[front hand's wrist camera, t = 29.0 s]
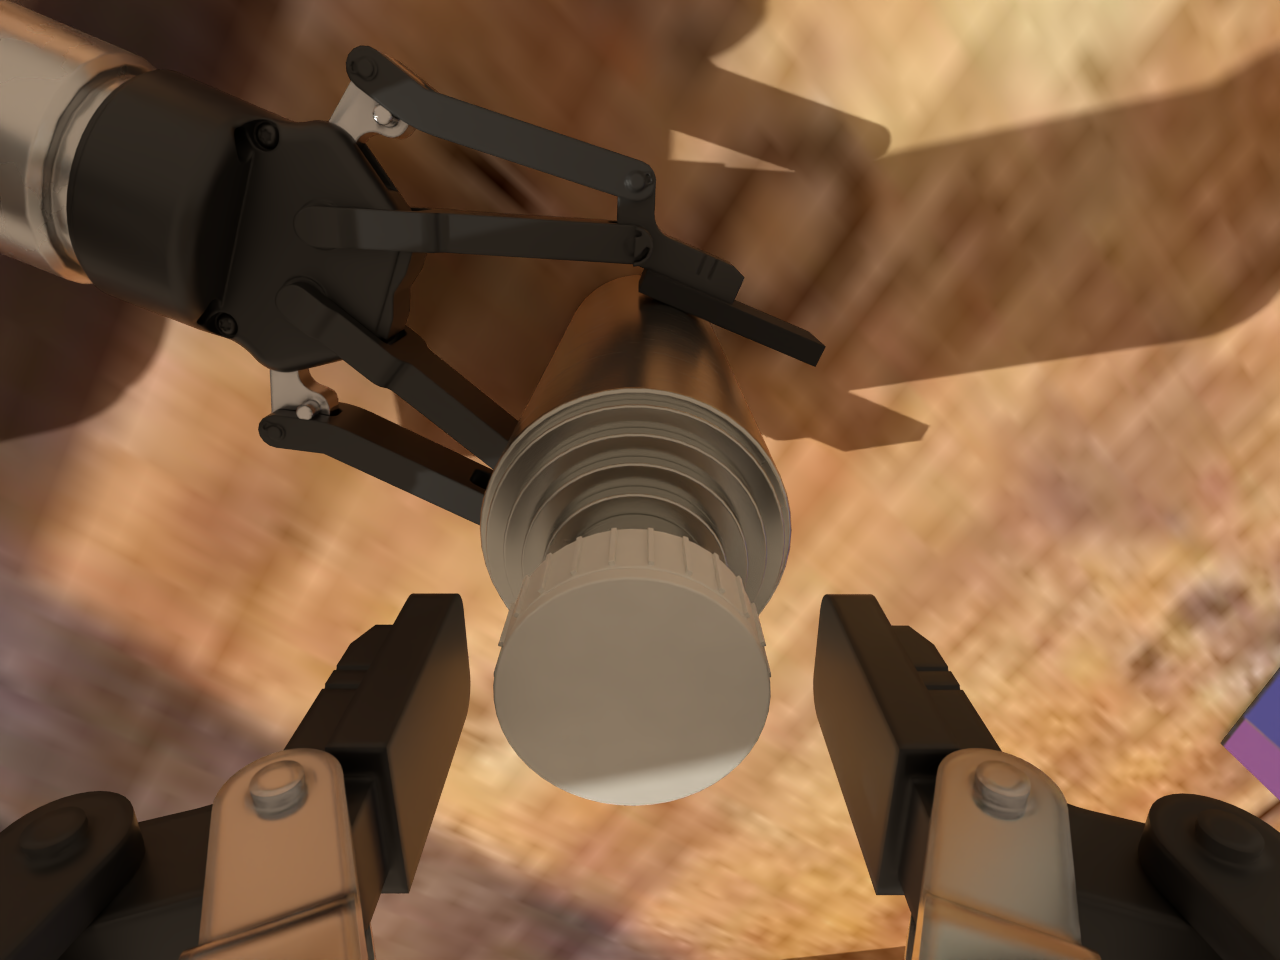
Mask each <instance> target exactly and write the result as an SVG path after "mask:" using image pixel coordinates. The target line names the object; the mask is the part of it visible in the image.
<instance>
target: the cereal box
mask: <svg viewBox="0 0 1280 960" xmlns="http://www.w3.org/2000/svg"><path fill="white" fill-rule="evenodd" d="M1221 744H1222V745H1223V746H1224V747H1225V748H1226V749H1227V750H1228V751H1229V752H1230V753H1231V754H1232V755H1233V756H1234V757H1235V758H1236V759H1237V760H1238V761H1239V762H1240V763H1241V764H1243V765H1244V766H1245V767H1246V768H1247V769H1248V770H1249V771H1250V772H1251V773H1252V774H1253V775H1254V776H1255V777H1256V778H1257V779H1258V780H1259V781H1260V782H1261V783H1262V784H1263V785H1264V786H1265V787H1266V788H1267V789H1268V790H1269V791H1271V792H1272V793H1273V794H1274V795H1275V796H1276V797H1277V798H1278V799H1279V800H1280V668H1279V670H1278V671H1277V672H1276V673H1275V675H1274V676H1273V677H1272V678H1271V680H1270V681H1269V682H1268V683H1267V685H1266V686H1265V687H1264V689H1263V690H1262V691H1261V692H1260V694H1259V695H1258V696H1257V697H1256V699H1255V700H1254V701H1253V702H1252V704H1251V705H1250V706H1249V708H1248V709H1247V710H1246V711H1245V713H1244V714H1243V715H1242V716H1241V718H1240V719H1239V720H1238V721H1237V723H1236V724H1235V725H1234V727H1233V728H1232V729H1231V730H1230V732H1229V733H1228V734H1227V735H1226V737H1225V738H1224V739H1223V740H1222V742H1221Z"/></svg>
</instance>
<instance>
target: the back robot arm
mask: <svg viewBox="0 0 1280 960" xmlns="http://www.w3.org/2000/svg"><path fill="white" fill-rule="evenodd" d="M346 70H347V74H348V76H349V78H350V80H351V82H350V84H349V86H348V87H347V89H346V91H345V93H344V95H343V96H342V98H341V100H340V102H339V104H338V106H337V107H336V109H335V111H334V113H333V115H332V116H331V118H330V120H329V122H328V121H321V120H316V121H309V122H294V121H291V120H288V119H286V118H283V117H281V116H279V115H276V114H274V113H272V112H269V111H267V110H265V109H262V108H260V107H258V106H255V105H253V104H251V103H248V102H246V101H244V100H241V99H239V98H237V97H234V96H232V95H230V94H227V93H225V92H223V91H220V90H218V89H215V88H213V87H211V86H208V85H206V84H204V83H201V82H199V81H197V80H194V79H192V78H190V77H187V76H185V75H183V74H180V73H178V72H175V71H172V70H164V69H162V70H157V69H156V68H155V67H154V66H152V65H151V64H150V63H149V62H148V61H147V60H145V59H144V58H143V57H141V56H138V55H136V54H134V53H131V52H129V51H127V50H124V49H122V48H120V47H117V46H115V45H112V44H110V43H108V42H105V41H103V40H101V39H98V38H96V37H94V36H91V35H89V34H86V33H84V32H82V31H79V30H77V29H75V28H72V27H70V26H68V25H65V24H63V23H60V22H58V21H56V20H53V19H51V18H49V17H46V16H44V15H42V14H39V13H37V12H34V11H32V10H30V9H27V8H25V7H23V6H20V5H18V4H16V3H13V2H11V1H8V0H0V253H1V254H4V255H6V256H9V257H11V258H14V259H16V260H19V261H21V262H24V263H26V264H29V265H31V266H34V267H36V268H39V269H41V270H44V271H47V272H49V273H52V274H54V275H57V276H59V277H62V278H64V279H67V280H70V281H73V282H77V283H80V284H94V285H95V286H96V287H97V288H99V289H100V290H101V291H103V292H104V293H106V294H108V295H110V296H113V297H116V298H118V299H121V300H123V301H126V302H129V303H131V304H134V305H137V306H139V307H142V308H144V309H147V310H150V311H152V312H155V313H158V314H160V315H163V316H165V317H168V318H171V319H173V320H176V321H178V322H181V323H184V324H186V325H189V326H192V327H194V328H197V329H200V330H202V331H206V332H209V333H212V334H215V335H218V336H222V337H225V338H228V339H231V340H233V341H235V342H236V343H238V344H239V345H241V346H242V347H244V348H245V349H246V350H247V351H248V352H249V353H251V354H252V355H253V357H254V358H255V359H256V360H257V361H258V362H260V363H261V364H262V365H263V366H265V367H267V368H269V369H270V383H271V405H272V412H271V414H269V415H268V416H266V417H265V418H263V419H262V420H261V422H260V423H259V428H258V430H259V434H260V437H261V438H262V439H263V441H264V442H265V443H267V444H268V445H270V446H273V447H276V448H284V449H292V450H299V451H307V452H315V453H323V454H326V455H328V456H330V457H332V458H334V459H337V460H339V461H341V462H343V463H345V464H348V465H350V466H352V467H354V468H356V469H358V470H361V471H363V472H365V473H367V474H369V475H371V476H374V477H376V478H378V479H380V480H382V481H385V482H387V483H389V484H391V485H393V486H395V487H398V488H400V489H402V490H404V491H406V492H408V493H411V494H413V495H415V496H417V497H419V498H421V499H424V500H426V501H428V502H430V503H432V504H435V505H437V506H439V507H441V508H443V509H445V510H448V511H450V512H452V513H454V514H456V515H458V516H461V517H463V518H465V519H467V520H469V521H472V522H474V523H476V524H478V525H480V519H481V508H482V503H483V498H484V494H485V490H486V487H487V485H488V482H489V479H490V477H491V474H492V472H493V470H494V468H495V466H496V464H497V462H498V460H499V458H500V456H501V454H502V453H503V451H504V449H505V447H506V445H507V443H508V441H509V439H510V437H511V435H512V433H513V431H514V429H515V428H516V426H517V424H518V422H519V421H517V420H516V419H515V418H514V417H512V416H511V415H510V414H509V413H507V412H506V411H505V410H504V409H502V408H501V407H500V406H499V405H497V404H496V403H495V402H494V401H493V400H491V399H490V398H489V397H488V396H486V395H485V394H484V393H483V392H481V391H480V390H479V389H478V388H476V387H475V386H474V385H473V384H471V383H470V382H469V381H468V380H466V379H465V378H464V377H463V376H462V375H460V374H459V373H458V372H457V371H455V370H454V369H453V368H452V367H450V366H449V365H448V364H447V363H445V362H444V361H443V360H442V359H440V358H439V357H438V356H437V355H435V354H434V353H433V352H432V351H431V350H430V349H429V348H428V347H427V345H426V343H425V341H424V340H423V339H422V338H421V337H420V336H419V335H418V334H416V333H415V332H414V331H413V330H411V329H410V328H409V327H408V326H406V325H405V324H406V321H407V318H408V314H409V311H410V288H411V285H412V283H413V282H414V280H415V279H416V277H417V275H418V274H419V272H420V271H421V269H422V267H423V264H424V261H425V257H426V254H427V253H461V254H478V255H494V256H510V257H526V258H542V259H558V260H574V261H590V262H606V263H622V264H633V267H634V266H640V267H642V268H644V270H643V272H642V275H641V277H640V280H639V283H638V292H639V293H642V294H644V295H646V296H649V297H651V298H654V299H656V300H658V301H661V302H663V303H665V304H668V305H670V306H672V307H675V308H677V309H680V310H682V311H684V312H687V313H689V314H691V315H694V316H696V317H698V318H701V319H703V320H706V321H708V322H710V323H713V324H715V325H717V326H720V327H722V328H725V329H727V330H729V331H732V332H734V333H736V334H739V335H741V336H743V337H746V338H748V339H751V340H753V341H755V342H758V343H760V344H762V345H765V346H767V347H770V348H772V349H774V350H777V351H779V352H781V353H784V354H786V355H788V356H791V357H793V358H796V359H798V360H800V361H803V362H805V363H807V364H810V365H812V366H814V367H816V365H817V363H818V361H819V359H820V357H821V355H822V353H823V351H824V349H825V347H826V346H824V345H823V344H822V343H821V342H820V341H819V340H818V339H816V338H815V337H814V336H813V335H812V334H811V333H810V332H808V331H806V330H803V329H801V328H799V327H796V326H794V325H792V324H790V323H787V322H785V321H783V320H780V319H778V318H776V317H773V316H771V315H769V314H766V313H764V312H762V311H759V310H757V309H755V308H752V307H750V306H748V305H745V304H743V303H741V302H738V301H736V300H735V298H736V295H737V293H738V291H739V289H740V286H741V284H742V282H743V280H744V277H743V276H742V275H741V274H740V272H739V271H738V270H737V269H736V268H735V267H734V266H733V265H732V264H731V263H729V262H728V261H725V260H723V259H721V258H719V257H716V256H714V255H712V254H709V253H707V252H705V251H702V250H700V249H698V248H696V247H693V246H691V245H689V244H687V243H684V242H682V241H680V240H677V239H675V238H673V237H671V236H668V235H666V234H665V233H663V232H662V231H661V230H660V229H659V228H658V226H657V224H656V222H655V215H654V210H655V188H656V177H655V174H654V171H653V170H652V168H651V167H650V166H649V165H648V164H646V163H644V162H642V161H639V160H636V159H634V158H631V157H628V156H625V155H622V154H619V153H616V152H613V151H610V150H607V149H604V148H601V147H598V146H595V145H592V144H589V143H586V142H583V141H580V140H577V139H574V138H571V137H568V136H565V135H562V134H559V133H556V132H553V131H550V130H547V129H544V128H541V127H538V126H535V125H532V124H529V123H526V122H523V121H520V120H517V119H514V118H512V117H509V116H506V115H503V114H500V113H497V112H494V111H491V110H488V109H485V108H482V107H479V106H476V105H473V104H470V103H467V102H464V101H461V100H458V99H455V98H452V97H449V96H446V95H443V94H440V93H439V92H437V91H436V90H435V89H434V88H432V87H431V86H430V85H428V84H427V83H426V82H425V81H423V80H422V79H421V78H420V77H418V76H417V75H416V74H415V73H413V72H412V71H411V70H409V69H408V68H407V67H406V66H404V65H403V64H402V63H401V62H399V61H397V60H395V59H393V58H391V57H389V56H388V55H386V54H384V53H382V52H380V51H377V50H375V49H373V48H371V47H369V46H359V47H356V48H354V49H353V50H352V51H351V52H350V53H349V54H348V57H347V61H346ZM415 129H418V130H420V131H423V132H425V133H428V134H430V135H433V136H436V137H439V138H442V139H445V140H448V141H451V142H454V143H457V144H460V145H463V146H466V147H469V148H472V149H475V150H478V151H481V152H484V153H487V154H490V155H493V156H496V157H500V158H503V159H506V160H509V161H512V162H515V163H518V164H521V165H524V166H527V167H530V168H533V169H536V170H539V171H542V172H545V173H548V174H551V175H554V176H557V177H560V178H563V179H566V180H569V181H572V182H575V183H578V184H581V185H584V186H588V187H591V188H594V189H597V190H600V191H603V192H606V193H609V194H612V195H615V196H618V205H617V221H615V220H600V219H584V218H568V217H553V216H537V215H521V214H505V213H490V212H474V211H459V210H452V209H437V208H422V207H409V206H408V204H407V203H406V201H405V200H404V199H403V197H402V196H401V194H400V193H399V191H398V190H397V188H396V187H395V185H394V184H393V182H392V181H391V180H390V178H389V177H388V175H387V174H386V172H385V171H384V169H383V168H382V166H381V165H380V164H379V162H378V161H377V159H376V158H375V156H374V155H373V153H372V152H371V150H370V149H369V147H368V146H367V145H366V142H367V141H368V140H369V138H370V137H372V136H374V135H377V134H381V135H384V136H386V137H390V138H395V139H404V138H407V137H409V136H410V135H411V134H412V133H413V132H414V131H415ZM340 360H344V361H345V362H346V363H348V364H349V365H350V366H352V367H353V368H354V369H355V370H357V371H358V372H359V373H361V374H362V375H363V376H365V377H366V378H367V379H368V380H370V381H371V382H373V383H374V384H376V385H378V386H380V387H384V388H388V389H390V390H392V391H393V392H394V393H396V394H397V395H398V396H400V397H401V398H402V399H403V400H405V401H406V402H407V403H409V404H410V405H411V406H412V407H414V408H415V409H416V410H418V411H419V412H420V413H421V414H423V415H424V416H425V417H427V418H428V419H429V420H430V421H432V422H433V423H434V424H436V425H437V426H438V427H439V428H441V429H442V430H443V431H445V432H446V433H447V434H448V435H450V436H451V437H452V438H454V439H455V440H456V441H457V442H459V443H460V444H461V445H463V446H464V447H465V448H466V449H468V450H469V451H470V452H472V453H473V454H474V455H475V456H477V457H478V458H479V459H481V460H482V461H483V462H484V463H486V464H487V465H488V466H490V467H491V468H492V469H493V470H492V469H490V468H488V467H486V466H483V465H481V464H479V463H477V462H475V461H473V460H471V459H469V458H467V457H465V456H462V455H460V454H458V453H456V452H454V451H452V450H450V449H448V448H446V447H443V446H441V445H439V444H437V443H435V442H433V441H431V440H429V439H427V438H425V437H422V436H420V435H418V434H416V433H414V432H412V431H410V430H408V429H406V428H403V427H401V426H399V425H397V424H395V423H393V422H391V421H389V420H387V419H385V418H382V417H380V416H378V415H376V414H374V413H372V412H370V411H367V410H365V409H362V408H360V407H357V406H353V405H350V404H347V403H341V402H338V398H337V393H336V392H335V391H334V390H332V389H330V388H329V387H326V386H324V385H321V384H319V383H318V382H316V381H315V380H314V379H313V378H312V376H311V374H310V372H309V368H312V367H316V366H320V365H324V364H328V363H332V362H336V361H340Z"/></svg>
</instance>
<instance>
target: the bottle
mask: <svg viewBox="0 0 1280 960" xmlns="http://www.w3.org/2000/svg"><path fill="white" fill-rule="evenodd" d="M640 277H641V275H630V276H624V277H620V278H617V279H614V280H611V281H609V282H607V283H605V284H603V285H602V286H600V287H598V288H597V289H596V290H594V291H593V292H592V293H590V294H589V295H588V296H587V298H586V299H585V300H584V301H583V302H582V303H581V305H580V306H579V307H578V309H577V310H576V312H575V314H574V316H573V318H572V320H571V322H570V323H569V325H568V327H567V329H566V331H565V333H564V335H563V337H562V339H561V341H560V343H559V345H558V347H557V349H556V350H555V352H554V354H553V356H552V358H551V360H550V362H549V364H548V366H547V368H546V370H545V372H544V374H543V375H542V377H541V379H540V381H539V383H538V385H537V387H536V389H535V391H534V393H533V395H532V397H531V399H530V401H529V402H528V404H527V406H526V408H525V410H524V412H523V414H522V416H521V418H520V420H519V422H518V424H517V426H516V428H515V429H514V431H513V433H512V435H511V437H510V439H509V441H508V443H507V445H506V447H505V449H504V451H503V453H502V454H501V456H500V458H499V460H498V462H497V464H496V466H495V468H494V470H493V472H492V474H491V477H490V479H489V482H488V485H487V487H486V490H485V494H484V498H483V503H482V508H481V519H480V535H481V547H482V551H483V556H484V560H485V564H486V567H487V570H488V572H489V575H490V577H491V580H492V582H493V584H494V586H495V588H496V590H497V591H498V593H499V595H500V597H501V599H502V600H503V601H504V603H505V605H506V606H507V608H508V609H510V606H511V603H516V600H517V598H518V596H519V594H520V591H521V588H522V584H523V581H524V578H525V577H526V576H529V577H530V576H531V574H532V573H533V572H534V571H535V570H536V569H537V568H538V567H539V565H540V564H541V563H543V562H544V561H545V560H546V556H547V555H548V554H549V553H550V552H551V553H552V554H554V553H555V552H557V551H558V550H560V549H561V548H563V547H564V546H566V545H568V544H570V543H572V542H575V541H576V538H577V537H580V536H582V538H584V537H587V536H590V535H593V534H596V533H601V532H606V531H611V528H617V530H620V529H647V530H648V528H653V529H654V531H660V532H665V533H668V534H672V535H675V536H679V537H681V538H683V536H685V537H688V539H689V541H691V542H693V543H695V544H697V545H699V546H700V547H702V548H704V549H706V550H707V551H709V552H710V553H712V554H714V553H716V554H718V555H719V560H721V561H722V562H723V563H724V564H725V565H726V566H727V567H728V568H729V569H730V570H731V571H732V572H733V574H734V575H735V576H736V577H737V576H740V577H741V579H742V583H743V587H744V590H745V592H746V594H747V596H748V598H749V601H750V603H751V604H752V603H755V606H756V609H757V613H758V616H759V614H760V613H761V612H762V610H763V609H764V608H765V606H766V604H767V603H768V602H769V600H770V599H771V597H772V595H773V593H774V592H775V590H776V588H777V586H778V584H779V582H780V580H781V577H782V575H783V572H784V570H785V567H786V563H787V559H788V555H789V550H790V542H791V531H792V529H791V512H790V507H789V502H788V497H787V493H786V490H785V487H784V484H783V482H782V479H781V476H780V474H779V472H778V470H777V467H776V465H775V463H774V461H773V459H772V456H771V454H770V452H769V450H768V448H767V446H766V443H765V441H764V439H763V437H762V435H761V433H760V430H759V428H758V426H757V424H756V422H755V420H754V417H753V415H752V413H751V411H750V409H749V407H748V404H747V402H746V400H745V398H744V396H743V394H742V391H741V389H740V387H739V385H738V383H737V381H736V378H735V376H734V374H733V372H732V370H731V367H730V365H729V363H728V361H727V359H726V357H725V354H724V352H723V350H722V348H721V346H720V344H719V341H718V339H717V337H716V335H715V333H714V331H713V328H712V326H711V324H710V322H708V321H706V320H703V319H701V318H698V317H696V316H694V315H691V314H689V313H687V312H684V311H682V310H680V309H677V308H675V307H672V306H670V305H668V304H665V303H663V302H661V301H658V300H656V299H654V298H651V297H649V296H646V295H644V294H642V293H639V292H638V283H639V280H640Z"/></svg>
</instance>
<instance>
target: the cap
mask: <svg viewBox="0 0 1280 960" xmlns="http://www.w3.org/2000/svg"><path fill="white" fill-rule="evenodd" d="M498 646H501V647H502V648H501V651H500V654H499V657H498V661H497V664H496V667H495V671H494V684H493V689H494V703H495V709H496V714H497V717H498V720H499V723H500V726H501V728H502V731H503V733H504V735H505V736H506V738H507V740H508V742H509V744H510V745H511V747H512V748H513V749H514V751H515V752H516V753H517V755H518V756H519V757H520V758H521V759H522V760H523V761H524V762H525V763H526V765H527V766H528V767H529V768H531V769H532V770H533V771H534V772H536V773H537V774H538V775H539V776H540V777H542V778H543V779H545V780H547V781H548V782H550V783H551V784H553V785H554V786H556V787H558V788H560V789H562V790H565V791H567V792H569V793H571V794H574V795H577V796H579V797H582V798H585V799H589V800H593V801H597V802H601V803H608V804H615V805H632V806H636V805H652V804H658V803H664V802H669V801H673V800H677V799H680V798H684V797H687V796H689V795H692V794H694V793H697V792H700V791H701V790H703V789H705V788H707V787H709V786H711V785H713V784H715V783H716V782H718V781H719V780H720V779H722V778H723V777H725V776H726V775H728V774H729V773H730V772H731V771H732V770H733V769H734V768H736V767H737V766H738V765H739V764H740V763H741V762H742V760H743V759H744V758H745V757H746V756H747V755H748V754H749V752H750V751H751V749H752V748H753V746H754V745H755V743H756V742H757V740H758V738H759V736H760V734H761V732H762V729H763V727H764V725H765V721H766V718H767V715H768V711H769V704H770V679H769V677H771V672H770V668H769V664H768V660H767V656H766V652H765V649H764V646H766V644H765V640H764V636H763V632H762V628H761V625H760V621H759V617H758V613H757V609H756V606H755V603H752V604H751V603H750V601H749V598H748V596H747V594H746V592H745V590H744V587H743V583H742V579H741V577H740V576H737V577H736V576H735V575H734V574H733V572H732V571H731V570H730V569H729V568H728V567H727V566H726V565H725V564H724V563H723V562H722V561H721V560H719V555H718V554H716V553H714V554H712V553H710V552H709V551H707V550H706V549H704V548H702V547H700V546H699V545H697V544H695V543H693V542H691V541H689V539H688V537H685V536H683V538H681V537H679V536H675V535H672V534H668V533H665V532H660V531H654V529H653V528H648V530H647V529H620V530H617V528H611V531H606V532H601V533H596V534H593V535H590V536H587V537H584V538H582V536H580V537H577V538H576V541H575V542H572V543H570V544H568V545H566V546H564V547H563V548H561V549H560V550H558V551H557V552H555V553H554V554H552V553H551V552H550V553H549V554H548V555H547V556H546V560H545V561H544V562H543V563H541V564H540V565H539V567H538V568H537V569H536V570H535V571H534V572H533V573H532V574H531V576H530V577H529V576H526V577H525V578H524V581H523V584H522V588H521V591H520V594H519V596H518V598H517V600H516V603H511V606H510V609H509V612H508V616H507V619H506V622H505V625H504V628H503V632H502V635H501V638H500V641H499V644H498Z"/></svg>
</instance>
